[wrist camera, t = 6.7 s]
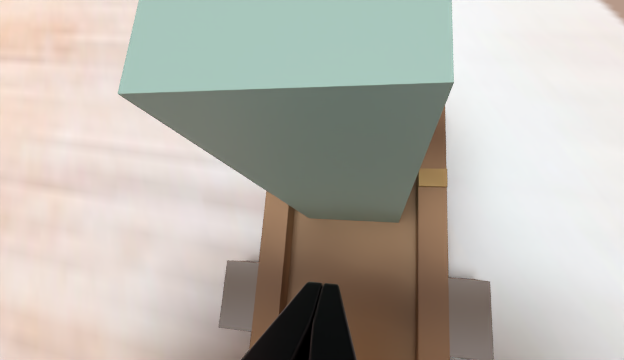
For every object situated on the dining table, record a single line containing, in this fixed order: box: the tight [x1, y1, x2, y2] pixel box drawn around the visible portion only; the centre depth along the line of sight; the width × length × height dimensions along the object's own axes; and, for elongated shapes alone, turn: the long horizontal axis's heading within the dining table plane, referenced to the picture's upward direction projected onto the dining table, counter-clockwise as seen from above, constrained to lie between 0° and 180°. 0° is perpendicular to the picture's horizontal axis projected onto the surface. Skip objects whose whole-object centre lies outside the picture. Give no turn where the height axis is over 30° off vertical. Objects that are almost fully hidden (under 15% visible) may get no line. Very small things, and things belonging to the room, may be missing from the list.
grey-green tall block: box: [118, 0, 454, 223], centre depth 11 cm, size 4×4×13 cm
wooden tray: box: [219, 106, 494, 360], centre depth 16 cm, size 20×12×3 cm, turn 176°
